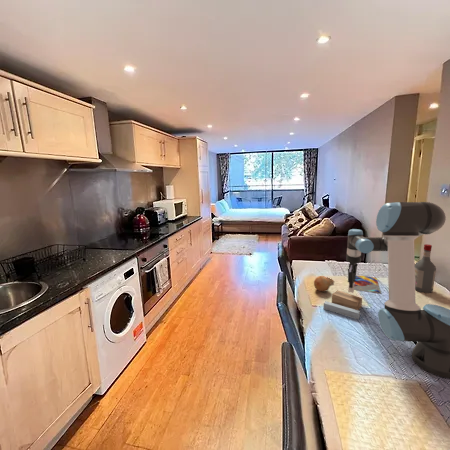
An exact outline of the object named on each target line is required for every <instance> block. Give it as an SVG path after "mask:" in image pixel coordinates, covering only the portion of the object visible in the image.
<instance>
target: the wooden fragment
mask: <svg viewBox="0 0 450 450" xmlns="http://www.w3.org/2000/svg"><path fill="white" fill-rule="evenodd" d="M328 277H329V276H328ZM328 277H326V278H327V279H328V280H329V283H330V286H333V285H334V283H335V281H334V279H333V278H331V279H330V278H328ZM330 286H329V288H330Z"/></svg>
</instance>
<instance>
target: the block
mask: <svg viewBox="0 0 450 450" xmlns="http://www.w3.org/2000/svg"><path fill="white" fill-rule="evenodd" d="M331 303H334V304H337V305H341V306H344V307H348V308H351V309H355V310H358V311H360V309H362V305H363V298H362V297H360V296H357V295H354V294H351V293H349V292H344V291H342V290H340V289H338V290H336V291H334V292H333V293H332V294H331Z"/></svg>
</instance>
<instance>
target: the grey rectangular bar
mask: <svg viewBox="0 0 450 450" xmlns="http://www.w3.org/2000/svg"><path fill="white" fill-rule="evenodd" d="M323 309H324V310H327V311H330V312H331V313H335V312H336V314H338V315H343V316H346V317H347V318H348V317H349V318H351V319H355V320H359V319H360V317H361V311H360V310H355V309H351V308H348V307H344V306H341V305H337V304H334V303H332V302H330V301H327V300H325V301H324V302H323Z"/></svg>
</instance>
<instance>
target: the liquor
mask: <svg viewBox="0 0 450 450" xmlns="http://www.w3.org/2000/svg"><path fill="white" fill-rule="evenodd" d="M432 247H433V246H432V244H424V245H423V253H422V255H423V256H422V258H421V259H420V260H419V261H417V262H415V292H419V293H422V292H424V293H426V294H431V293H433V291H434V285H435V280H436V273H437V268H436V266H435V264H434V262H432V261H431V255H432V253H431V251H432ZM424 293H423V294H424Z"/></svg>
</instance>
